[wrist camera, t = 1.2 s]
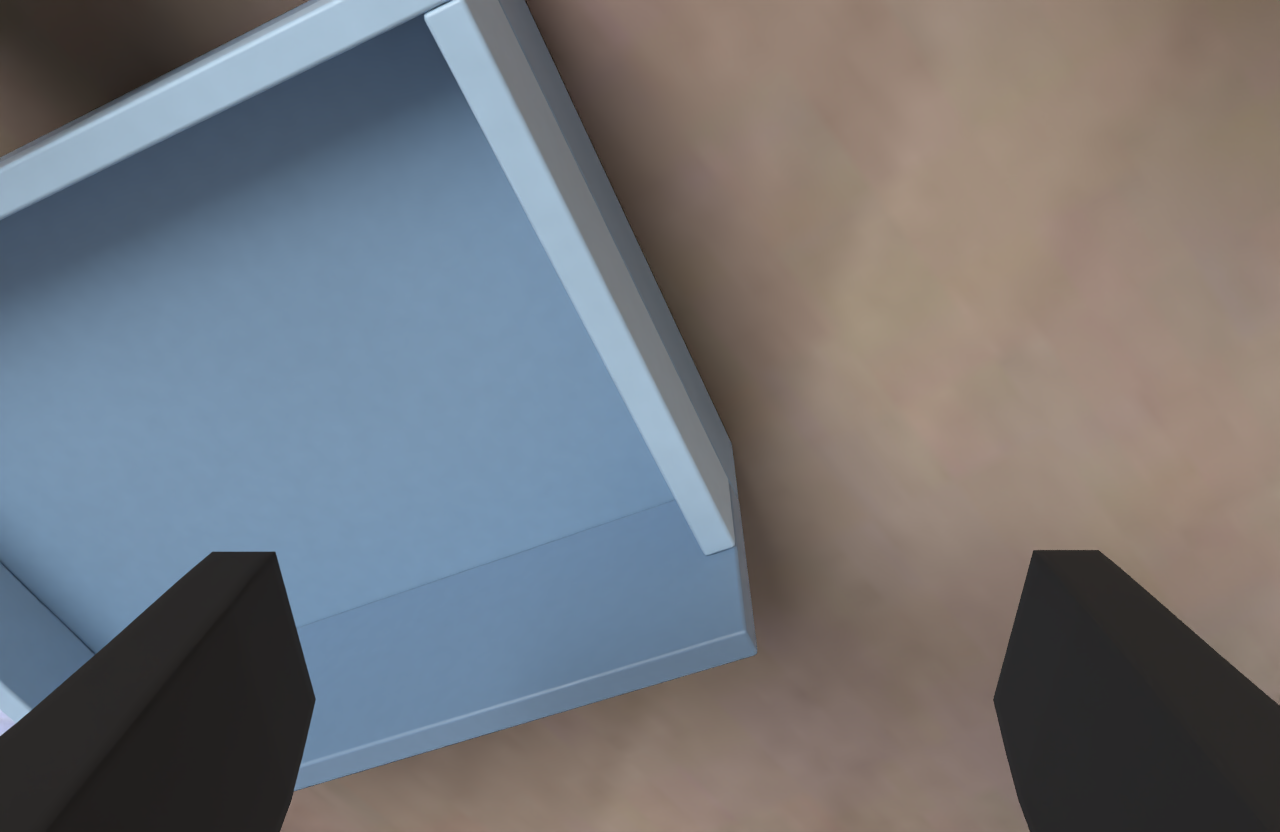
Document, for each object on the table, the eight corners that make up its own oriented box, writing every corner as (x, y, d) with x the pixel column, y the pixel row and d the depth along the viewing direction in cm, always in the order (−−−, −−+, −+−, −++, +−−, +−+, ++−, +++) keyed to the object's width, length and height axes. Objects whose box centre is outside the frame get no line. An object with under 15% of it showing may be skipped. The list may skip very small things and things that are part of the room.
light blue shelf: (160, 643, 24) (31, 870, 19) (-209, 263, 19) (-526, 439, 14) (733, 444, 21) (759, 656, 16) (484, -89, 15) (403, -27, 10)
